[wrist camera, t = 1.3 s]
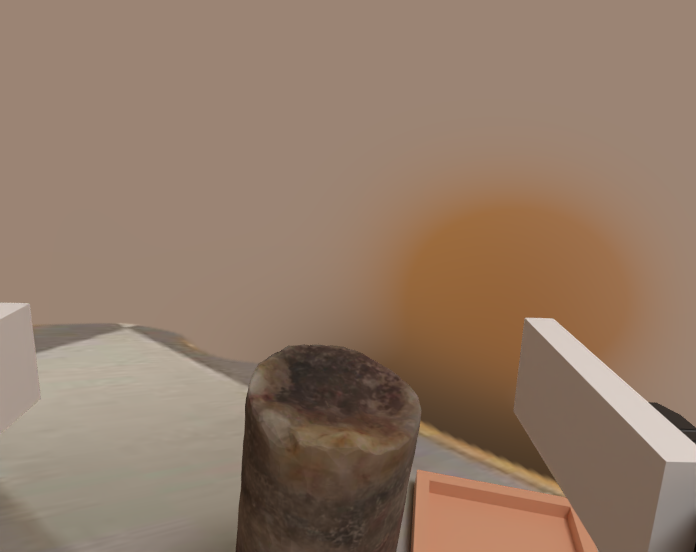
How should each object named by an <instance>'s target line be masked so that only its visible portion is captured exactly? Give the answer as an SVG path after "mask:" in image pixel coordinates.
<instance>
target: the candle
mask: <svg viewBox="0 0 696 552" xmlns="http://www.w3.org/2000/svg"><path fill="white" fill-rule="evenodd" d="M420 419H421V407H420V404H419V399H418V396H417V394H416V393H415V392H414V391H413V389H412V388H411V387H410V386H409V385H408V384H407V383H406V382H404V381H403V380H401V378H400V377H399V376H398V375H396V374H395V373H394V372H392V371H391V370H390V369H388V368H386V367H384V366H382V365H381V364H379V363H378V362H376V361H374V360H372V359H370V358H369V357H367V356H366V355H364V354H363V353H360V352H358V351H355V350H350V349H347V348H345V347H340V346H324V345H310V346H309V345H298V346H287V347H286V348H284V349H283V350H281V351H280V352H277V353H274V354H273V355H271V356H270V357H269V358H267V359H266V360H264V361H263V362H261V363H259V364H258V366H257V368H256V369H255V371H254V373H253V375H252V377H251V380H250V383H249V388H248V393H247V397H246V404H245V433H244V441H243V456H242V473H241V493H240V501H239V513H238V531H237V543H236V552H396V549H397V544H398V538H399V533H400V528H401V522H402V517H403V512H404V506H405V500H406V493H407V486H408V481H409V477H410V472H411V467H412V463H413V458H414V454H415V449H416V442H417V437H418V432H419V427H420Z"/></svg>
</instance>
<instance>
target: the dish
mask: <svg viewBox="0 0 696 552" xmlns="http://www.w3.org/2000/svg"><path fill="white" fill-rule="evenodd" d="M411 552H598V551H597V548H596V545H595V543H594V542H593V540H592V538H591V537H590V535H589V534H588V532H587V530H586V529H585V527H584V525H583V524H582V522H581V521H580V519H579V517H578V516H577V514H576V512H575V511H574V509H573V507H572V506H571V504H570V503H569V501H568V499H567V498H566V497H560V496H555V495H550V494H544V493H539V492H534V491H528V490H523V489H518V488H512V487H507V486H502V485H496V484H491V483H486V482H480V481H475V480H470V479H464V478H459V477H454V476H448V475H443V474H438V473H432V472H427V471H422V470H417V474H416V479H415V485H414V497H413V516H412V534H411Z"/></svg>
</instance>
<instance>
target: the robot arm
mask: <svg viewBox="0 0 696 552" xmlns="http://www.w3.org/2000/svg"><path fill="white" fill-rule="evenodd" d="M40 399H41V395H40V387H39V378H38V370H37V361H36V353H35V345H34V336H33V328H32V319H31V311H30V304H29V303H0V434H1V433H2V432H4V431H5V430H6V429H7V428H8V427H9V426H10V425H12V424H13V423H14V422H15V421H16V420H17V419H18V418H19V417H21V416H22V415H23V414H24V413H25V412H26V411H27V410H29V409H30V408H31V407H32V406H33V405H34V404H35V403H37V402H38V401H39V400H40ZM514 413H515V414H516V416H517V417H518V419H519V421H520V423H521V424H522V426H523V427H524V429H525V431H526V432H527V434H528V436H529V437H530V439H531V440H532V442H533V444H534V445H535V447H536V449H537V450H538V452H539V454H540V455H541V457H542V458H543V460H544V462H545V463H546V465H547V467H548V468H549V470H550V472H551V473H552V475H553V476H554V478H555V480H556V481H557V483H558V485H559V486H560V488H561V489H562V491H563V493H564V494H565V496H566V498H567V499H568V501H569V503H570V504H571V506H572V507H573V509H574V511H575V512H576V514H577V516H578V517H579V519H580V521H581V522H582V524H583V525H584V527H585V529H586V530H587V532H588V534H589V535H590V537H591V538H592V540H593V542H594V543H595V545H596V547H597V548H598V550H599V552H696V428H695V427H694V426H693V425H692V424H691V423H689V422H688V421H687V420H686V419H685V418H683V417H682V416H681V415H679V414H678V413H675V412H673V411H671V410H670V409H668V408H666V407H664V406H662V405H660V404H658V403H650V402H647V401H646V400H645V399H644V398H643V397H641V396H640V395H639V394H638V393H637V392H636V391H635V390H633V389H632V388H631V387H630V386H629V385H628V384H627V383H626V382H624V381H623V380H622V379H621V378H620V377H619V376H618V375H617V374H615V373H614V372H613V371H612V370H611V369H610V368H609V367H607V366H606V365H605V364H604V363H603V362H602V361H601V360H599V359H598V358H597V357H596V356H595V355H594V354H593V353H592V352H590V351H589V350H588V349H587V348H586V347H585V346H584V345H583V344H581V343H580V342H579V341H578V340H577V339H576V338H575V337H573V336H572V335H571V334H570V333H569V332H568V331H567V330H565V329H564V328H563V327H562V326H561V325H560V324H559V323H558V322H556V321H555V320H554V319H548V318H546V319H545V318H525V320H524V329H523V337H522V345H521V353H520V362H519V370H518V379H517V388H516V396H515V404H514Z"/></svg>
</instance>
